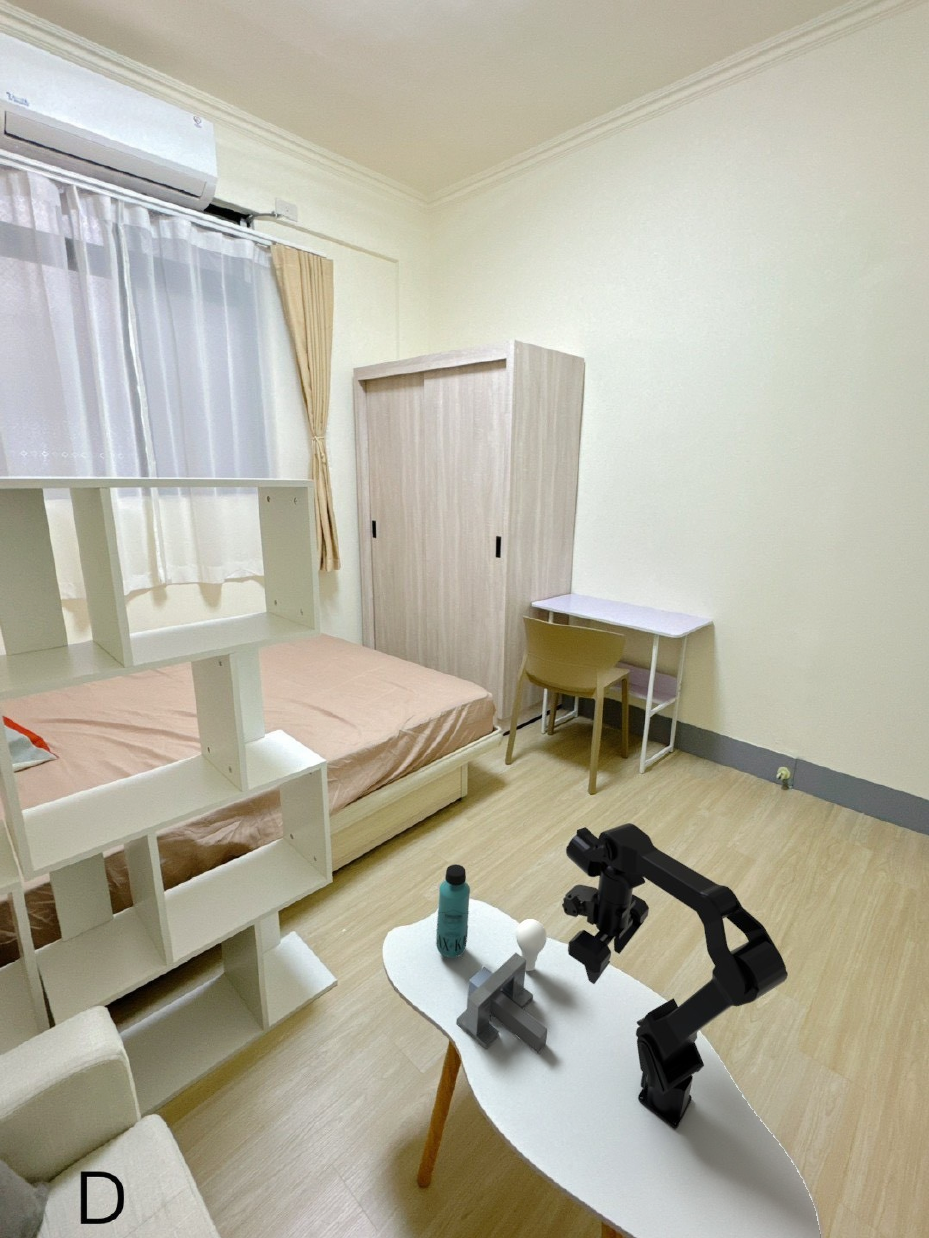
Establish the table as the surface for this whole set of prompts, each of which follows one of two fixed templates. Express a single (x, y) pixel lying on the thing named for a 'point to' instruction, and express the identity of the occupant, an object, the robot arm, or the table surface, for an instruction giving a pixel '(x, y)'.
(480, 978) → the plug
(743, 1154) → the table surface
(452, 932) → the beverage bottle
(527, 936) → the lightbulb
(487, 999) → the gray arch-shaped bracket
